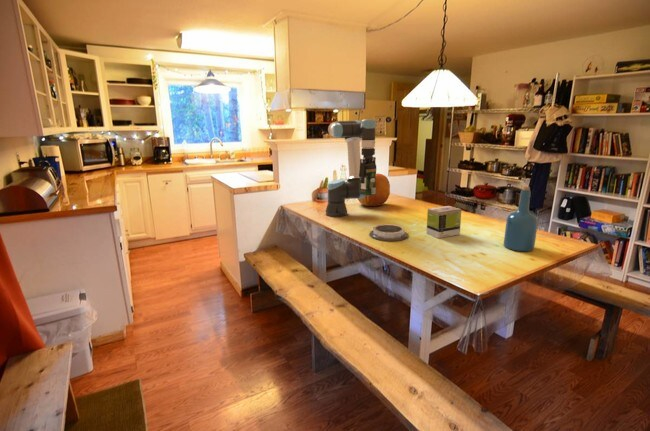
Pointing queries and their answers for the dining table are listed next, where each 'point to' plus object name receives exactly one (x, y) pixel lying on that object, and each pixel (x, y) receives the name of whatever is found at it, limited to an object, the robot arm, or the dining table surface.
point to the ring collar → (388, 233)
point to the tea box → (443, 221)
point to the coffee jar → (369, 180)
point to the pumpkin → (377, 192)
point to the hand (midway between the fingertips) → (367, 187)
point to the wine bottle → (521, 225)
